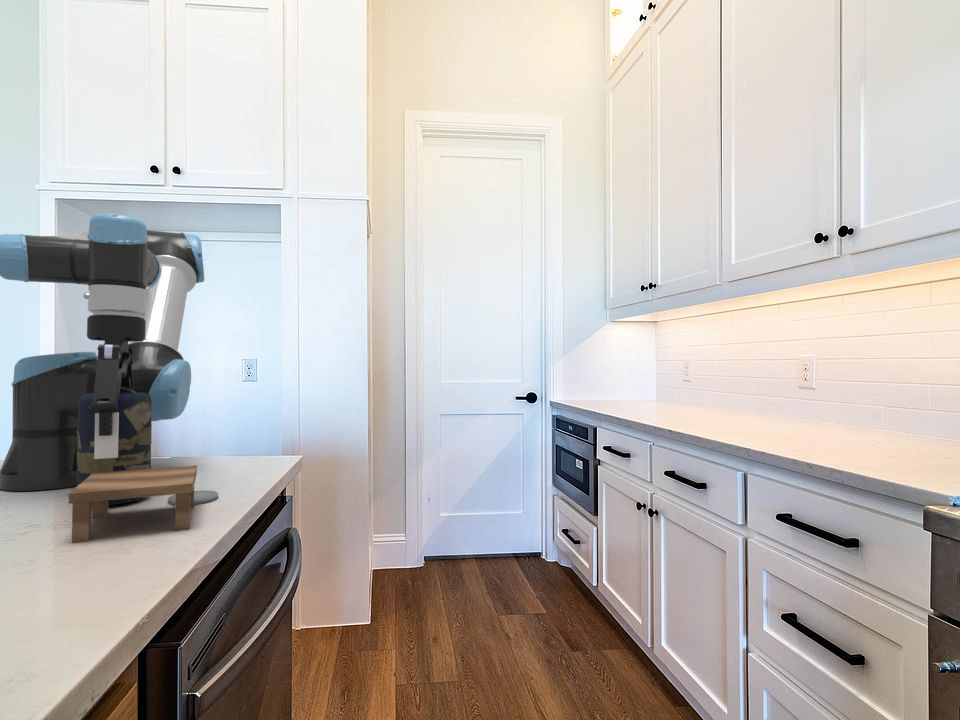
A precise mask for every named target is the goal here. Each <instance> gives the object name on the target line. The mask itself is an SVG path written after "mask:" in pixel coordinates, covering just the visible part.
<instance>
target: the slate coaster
mask: <svg viewBox="0 0 960 720" xmlns="http://www.w3.org/2000/svg"><path fill="white" fill-rule="evenodd" d="M218 499H219V492H217V491H215V490H214V491H213V490H194V506H196V505H203V504H206V503H212V502H214V501H216V500H218ZM167 503H168V504H169V505H171V506H176V494H173V495H171V496H170V495H169V496H168V498H167Z"/></svg>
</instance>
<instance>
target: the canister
mask: <svg viewBox="0 0 960 720" xmlns="http://www.w3.org/2000/svg"><path fill="white" fill-rule="evenodd" d="M120 389H121V390H124V391H128V392H120V393H119V399H118V405H117V407H118V410H117V411H116V413H117V412H119V430H118V457H117V458H104V459H94V446H95V413H88V407H91V404H92V402H93V394H94V393H92V394H85V395H82V396H81V397H80V398H79V400H78V431H77V434H78V449H77V485H76V487H77V486H78V485H80V484H81V483H82V482H83V481H84V480H85V479H86V478H88V477H89V476H90V475H91V474H92V473H98V472H113V471H127V470H141V469H152V452H151V451H152V428H153V427H152V424H153V423H152V421H151V414H152V401H151V396H150V395H149V394H147V393H143V392H135V391H133V390H131V389H128V388H124V387H120ZM143 498H144V497H139V498H128V499H117V500H108V506H110V505H119V504H125V503H131V502H134V501H138V500H141V499H143Z"/></svg>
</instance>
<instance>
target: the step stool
mask: <svg viewBox="0 0 960 720" xmlns="http://www.w3.org/2000/svg"><path fill="white" fill-rule="evenodd" d="M197 469H198V466H197V465H190V466H189V465H188V466H187V465H186V466H184V465H183V466H174V467H173V466H172V467H157V468H151V469H141V470H127V471H113V472H98V473H92V474H91V475H90V476H89V477H88V478H86V479H85V480H84V481H83V482H82V483H81V484H80V485H78V486H77V485H76V486H75V488H74V489H72V491H71V492H69V493H68V504H69V505H70V504H72V506H71V507H72V508H71V509H72V510H71V513H72V514H71V515H72V516H71V519H72V521H71V523H72V524H71V543H72V544H73V543H81V542H89V540H90V539H91V538H92V519H99V518H106V517H107V516H108V515H109V505H108V500H117V499H128V498H139V497H143V498H149V497H158V496H159V497H160V496H168V495H169V496H170V495H171V496H172V495H175V494H176V505H175V520H174V521H175V522H174V523H175V526H174V527H175V531H184V530H185V531H186V530H190V528H191V509H194V506H195V505H194V491H195V483H196V479H197V475H198V473H197V472H198V470H197Z"/></svg>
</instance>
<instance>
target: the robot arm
mask: <svg viewBox="0 0 960 720" xmlns="http://www.w3.org/2000/svg"><path fill="white" fill-rule="evenodd" d="M204 270H205V269H204V259H203V248H202V240H201V238H200V237H199V236H197V235H196V234H190V233H185V232H180V233H179V232H168V231H160V230H159V231H158V230H149V229H148V228H147V225H146V223H144V221H142V220H140V219H138V218H136V217H132V216H128V215H123V214H117V213H116V214H115V213H99V214H98V213H97V214H94V215H93V216H92V217H90V219H89V227H88V231H84V232H82V233H79V235H30V234H28V235H27V234H24V233H20V234H17V233H16V234H13V233H3V234H0V277H1V278H2V279H5V280H9V281H17V282H24V283H29V282H31V283H36V282H37V283H54V284H75V285H86V286H88V289H87V290H88V292H84V293H83V295H82V297H83V298H84V299H86V300H87V299H88V300H87V310H88V312H89V313H92V315H89V316H88V317H87V320H86V337H87V339H88V340H91V341H101V342H104V343H103V344H98V346H97V352H95V351H80V352H79V351H77V352H64V353H52V354H50V353H49V354H43V355H32V356H26V357H24V358H21V359H19V360H18V361H17V362H16V363H15V364H14V368H13V369H14V370H13V380H12V382H11V386H12V437H11V438H12V441H11V444H10V446H9V449H8V451H7V453H6V456H5V458H4V460H3V463H2V465H1V467H0V490H3V491H12V492H14V491H15V492H23V491H24V492H28V491H29V492H30V491H45V490H53V489H54V490H55V489H63V488H68V487H77V449H78V434H77V431H78V400H79V398H80V397H81V396H82V395H85V394H92V393H94V394H93V402H92V404H91V407H88V413H95V446H94V459H104V458H117V457H118V430H119V412H117V413H116V411H117V410H118V407H117V405H118V399H119V393H120V392H128V391H124V390H121V389H120V387H124V388H128V389H131V390H133V391H135V392H143V393H147V394H149V395H150V396H151V401H152V414H151V422H158V421H164V420H173V419H176V418H178V417H180V416H181V415H182V413H184V411H185V410H186V409H185V408H186V406H187V403H188V401H189V398H190V392H191V391H190V388H191V384H192V370H191V369H192V368H191V365H190V363H189V362H188V361H187V360H184V356H183V355H182V354H181V352H179V345H180V339H181V333H182V327H183V326H182V325H183V319H184V314H185V308H186V302H187V296H188V293H189V292H191V291H192V290H193V289H194V288H195V286H196V285H197V284H199V283H203V282H204V281H205V271H204Z"/></svg>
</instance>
